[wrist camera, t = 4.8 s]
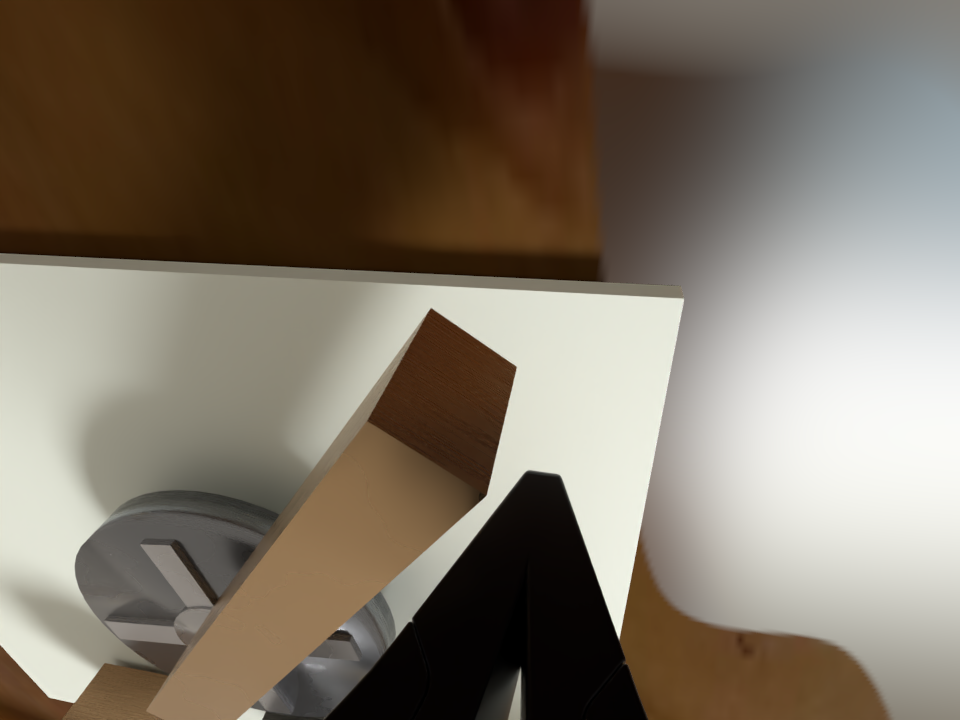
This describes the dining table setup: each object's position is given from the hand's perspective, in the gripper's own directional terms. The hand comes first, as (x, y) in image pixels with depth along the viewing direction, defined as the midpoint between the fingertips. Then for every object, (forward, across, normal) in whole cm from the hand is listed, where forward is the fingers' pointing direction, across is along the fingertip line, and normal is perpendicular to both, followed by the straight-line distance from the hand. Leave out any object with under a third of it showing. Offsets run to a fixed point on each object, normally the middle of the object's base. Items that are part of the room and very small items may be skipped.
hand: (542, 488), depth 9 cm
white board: (+4, +12, +12) cm, 18 cm away
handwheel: (+2, +7, +6) cm, 10 cm away
